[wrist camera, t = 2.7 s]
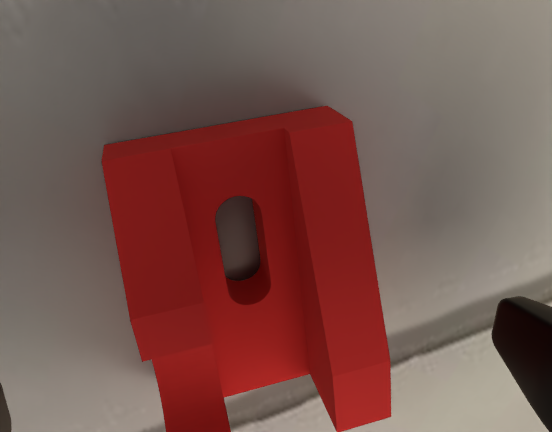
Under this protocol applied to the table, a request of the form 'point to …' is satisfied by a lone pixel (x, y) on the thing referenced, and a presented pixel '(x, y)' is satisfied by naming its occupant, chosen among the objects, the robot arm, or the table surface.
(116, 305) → the table surface
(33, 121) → the table surface
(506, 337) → the robot arm
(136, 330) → the bracket
